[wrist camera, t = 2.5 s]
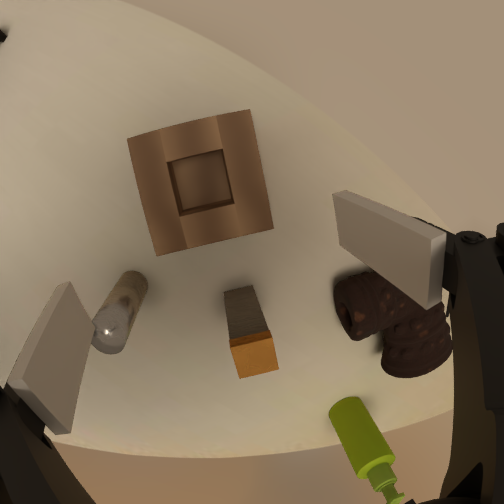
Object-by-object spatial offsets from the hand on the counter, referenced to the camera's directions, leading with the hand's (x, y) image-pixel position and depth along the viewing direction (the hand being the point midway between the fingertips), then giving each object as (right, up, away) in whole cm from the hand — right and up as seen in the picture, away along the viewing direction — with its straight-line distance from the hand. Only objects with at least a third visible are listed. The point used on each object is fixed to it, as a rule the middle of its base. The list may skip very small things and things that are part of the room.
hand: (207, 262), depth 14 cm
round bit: (-11, -3, +19) cm, 23 cm away
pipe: (+20, -7, +25) cm, 33 cm away
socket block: (-3, +8, +17) cm, 19 cm away
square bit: (+1, -5, +22) cm, 22 cm away
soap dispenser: (+17, -26, +30) cm, 43 cm away
